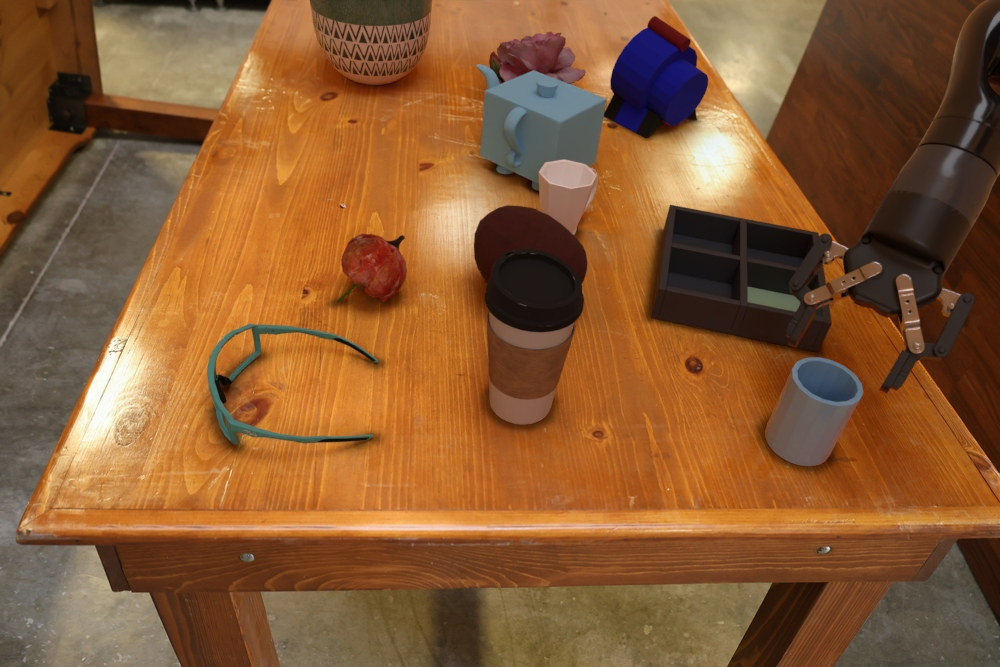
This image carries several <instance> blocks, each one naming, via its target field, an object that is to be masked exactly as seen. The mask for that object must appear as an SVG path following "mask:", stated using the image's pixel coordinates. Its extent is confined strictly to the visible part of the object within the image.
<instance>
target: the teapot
mask: <svg viewBox="0 0 1000 667" xmlns="http://www.w3.org/2000/svg"><path fill="white" fill-rule="evenodd" d="M476 68H477V69H478V71H479V72H480V73H481V74H482V76H483V77H484V80H485V84H486V89H485V90H484V92H483V94H484V95H483V106H482V107H483V109H482V121H481V122H482V124H481V136H480V155H479V157H481V158H483V159H485V160H488V161H489V162H492V163H494V164H495V165H497V166H496V168H495V171H496V172H497V173H499V174H502V175H511V174H514V173H515V174H517V175H518V176H521V177H523V178H526V179H527V180H530V181H532V182H531V188H532V189H533V190H535V191H537V192H539V171H540V169H541V168H542V166H543V165H544V163H545V162H551V161H557V160H563V159H565V160H570V161H574V162H578V163H582V164H586V165H587V166H588V167H590V168H591V167H592V166H594V165H595V164H597V156H598V150H599V147H600V146H599V144H600V142H601V141H600V140H601V136H602V135H601V134H602V129H603V123H604V117H605V116H604V113H605V111H606V106H607V98H606V97H603V96H601V95H599V94H596V93H593V92H591V91H588V90H586V89H583V88H581V87H577V85H575V84H573V83H570V84H568V83H565V82H563V81H560V80H558V79H555V78H552V77H550V76H547V75H545V74H542V73H539V72H537V71H534V70H533V71H531V72H528V73H526V74H524V75H521V76H519V77H516V78H514V79H511V80H509V81H507V82H504V83H502V82H501V81H500V80H499V79H498V77H497V75H496V74H495V72H494V71H493V70H492V69H491V68H490V66H487V65H484V64H479V63H478V64H476Z"/></svg>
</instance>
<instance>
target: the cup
mask: <svg viewBox="0 0 1000 667" xmlns="http://www.w3.org/2000/svg"><path fill="white" fill-rule="evenodd" d="M598 178H599V173H598V172H597V170H596V169H594V168H593V167H591V166H590V167H588V166H587V165H586V164H582V163H578V162H574V161H570V160H565V159H563V160H557V161H551V162H545V163H544V165H543V166H542V168H541V169H540V171H539V191H538V193H539V211H540V212H543V213H545V214H547V215H549V216H551V217H552V218H554V219H555V220H556V221H558V222H559V223H561V224H562V225H563V226H564V227H565V228H566V229H567V230H569V231H570V232H571V233H572V234H573V235H574V236H575V235H576V233H577V230H578V228H577V227H578V225H579V223H580V221H581V220H582V217H583V215H584V214H585V212H586V211H587V209H588V208H589V206H590V205H591V203H592V201H593V200H594V198H595V196H596V192H597V190H598V184H599V179H598Z"/></svg>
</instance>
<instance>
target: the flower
mask: <svg viewBox="0 0 1000 667" xmlns="http://www.w3.org/2000/svg"><path fill="white" fill-rule="evenodd" d="M566 42H567V38H566V37H565V36H563V35H562V32H556V33H553V32H552V31H548V32H546V33H545V34H544V33H539V32H538V33H534V34H533V35H532V36H530V35H525V36H524V37H522V38H521V39H520V40H519V39H518V38H514V39H512V40H509V41H501V42H500V43H499V45H498V47H497V48H496V52H495V51H494V50H493V51H492V52H491V53H490V55H489V59H488V63H489V68H491V69H492V70H493V71H494V72H495V74H496V75H497V77H498V80H499V82H500V83H501V84H502V83H504V82H507V81H509V80H511V79H514V78H516V77H519V76H521V75H524V74H526V73H528V72H531V71H533V70H534V71H537V72H539V73H542V74H545V75H547V76H550V77H552V78H555V79H558V80H560V81H563V82H565V83H568V84H574V83H576V82H579V81H580V80H582V79H583V78H584V77H585V76H586V73H587V71H586V69H580V68H576V67H573V66H572V65H574V63H575V61H576V55H575V53H574V52H573V51H572V49H571V47H567V46H566V44H567V43H566ZM565 46H566V47H565Z"/></svg>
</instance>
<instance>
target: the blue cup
mask: <svg viewBox="0 0 1000 667" xmlns="http://www.w3.org/2000/svg"><path fill="white" fill-rule="evenodd" d="M863 395H864V388H863V382H861V380H860V379H859V378H858V376H857V375H856V374H855V373H854V372H853V371H851V370H850V369H849V368H848V367H847V366H845V365H843V364H841V363H839V362H837V361H835V360H832V359H830V358H829V359H828V358H825V357H819V356H813V357H810V356H809V357H804V358H802V359H799V360H797V361H795V363H794V364H793V366H792V368H791V370H790V372H789V374H788V377H787V378H786V381H785V383H784V385H783V388H782V390H781V392H780V394H779V396H778V398H777V401H776V403H775V404H774V408H773V409H772V412H771V415H770V416H769V419H768V421H767V423H766V426H765V430H764V437H765V441H766V444H767V445H768V447H769V448H770V449H771V450H772V452H773V453H775V454H776V455H777V456H778V457H780V459H783V460H784V461H786V462H788V463H791V464H793V465H797V466H800V467H816V466H820V465H822V464H823V463H825V462H826V461H827V460H828V459H829V457H830V456H831V455H832V452H833V451H834V448H835V447H836V445H837V443H838V441H839V439H840V437H841V436H842V434H843V432H844V430H845V429H846V426H847V425H848V423H849V421H850V419H851V417H852V416H853V414H854V412H855V410H856V408H857V406H858V404H859V403H860V401H861V399H862V397H863Z"/></svg>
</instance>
